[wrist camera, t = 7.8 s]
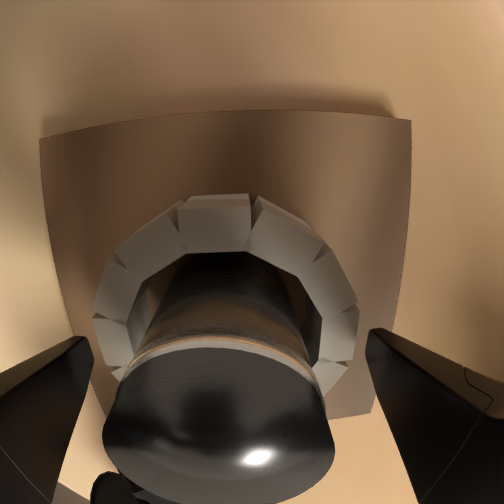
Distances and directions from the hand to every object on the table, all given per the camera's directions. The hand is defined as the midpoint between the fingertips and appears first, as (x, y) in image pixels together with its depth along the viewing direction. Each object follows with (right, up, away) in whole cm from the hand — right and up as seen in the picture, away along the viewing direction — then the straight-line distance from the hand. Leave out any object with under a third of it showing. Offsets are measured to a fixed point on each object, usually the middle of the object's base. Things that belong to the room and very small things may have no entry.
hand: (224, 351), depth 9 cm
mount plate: (0, +1, +4) cm, 4 cm away
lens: (0, +1, +3) cm, 3 cm away
